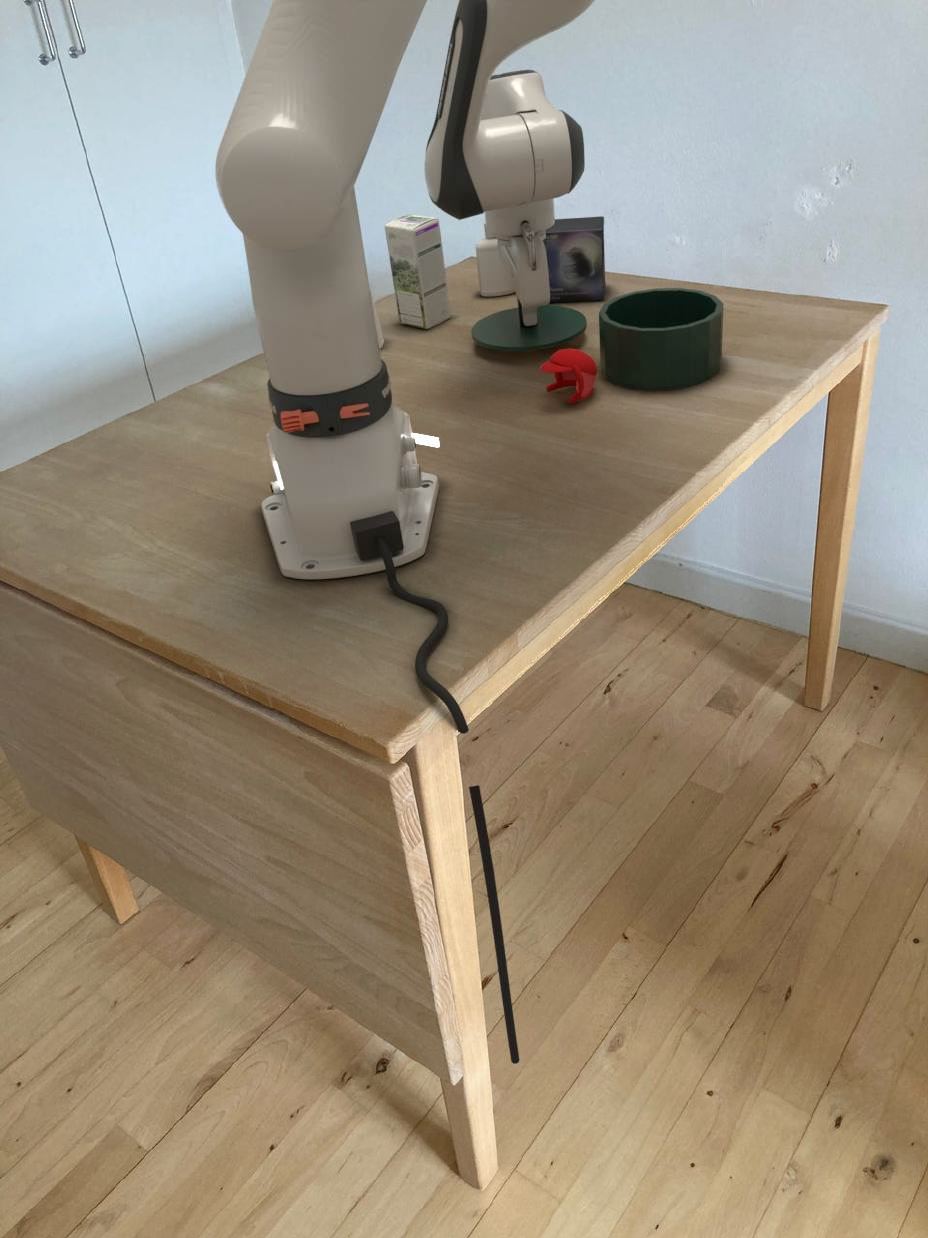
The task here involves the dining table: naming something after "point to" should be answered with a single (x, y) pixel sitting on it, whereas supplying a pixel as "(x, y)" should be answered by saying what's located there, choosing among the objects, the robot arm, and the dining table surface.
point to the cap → (572, 372)
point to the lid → (529, 329)
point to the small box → (576, 259)
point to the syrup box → (418, 270)
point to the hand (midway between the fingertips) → (527, 319)
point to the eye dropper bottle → (491, 268)
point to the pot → (661, 338)
